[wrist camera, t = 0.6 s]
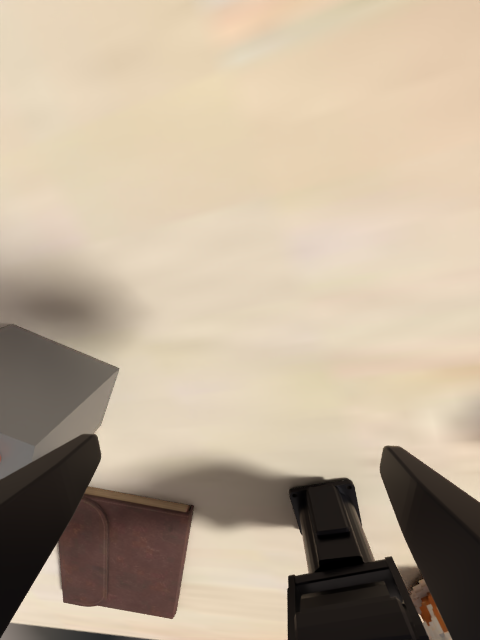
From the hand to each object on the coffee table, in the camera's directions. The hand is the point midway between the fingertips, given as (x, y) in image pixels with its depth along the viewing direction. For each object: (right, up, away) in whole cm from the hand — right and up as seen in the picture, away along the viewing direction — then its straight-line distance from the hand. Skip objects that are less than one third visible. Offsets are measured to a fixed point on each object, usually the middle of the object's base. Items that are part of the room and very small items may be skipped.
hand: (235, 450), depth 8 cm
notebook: (-14, -24, +23) cm, 36 cm away
